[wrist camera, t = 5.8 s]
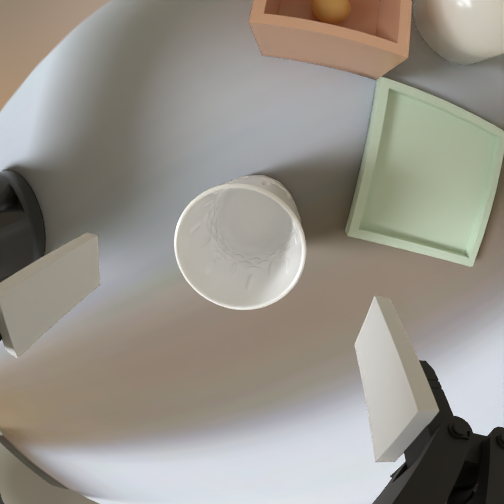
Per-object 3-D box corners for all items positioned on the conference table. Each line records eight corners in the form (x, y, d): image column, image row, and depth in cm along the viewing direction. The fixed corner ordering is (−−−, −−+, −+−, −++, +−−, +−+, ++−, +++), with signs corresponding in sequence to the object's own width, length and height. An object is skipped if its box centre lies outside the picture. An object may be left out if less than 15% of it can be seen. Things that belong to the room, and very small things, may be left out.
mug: (410, 44, 19) (453, 12, 11) (412, -35, 15) (443, -76, 7) (482, 78, 19) (537, 67, 10) (480, -1, 15) (523, -27, 6)
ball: (307, 24, 19) (309, 10, 16) (312, -4, 18) (314, -20, 15) (345, 32, 19) (351, 19, 16) (349, 4, 18) (355, -11, 15)
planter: (261, 55, 22) (248, 22, 14) (279, -31, 18) (272, -78, 11) (376, 79, 21) (408, 58, 14) (385, -8, 17) (411, -47, 10)
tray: (344, 230, 26) (347, 236, 25) (376, 79, 21) (381, 76, 20) (465, 261, 25) (472, 267, 24) (497, 132, 20) (506, 132, 19)
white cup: (274, 151, 25) (263, 157, 16) (317, 229, 27) (328, 278, 17) (198, 195, 27) (150, 225, 18) (242, 266, 29) (218, 326, 20)
